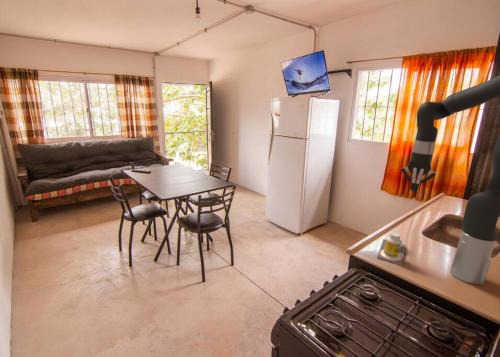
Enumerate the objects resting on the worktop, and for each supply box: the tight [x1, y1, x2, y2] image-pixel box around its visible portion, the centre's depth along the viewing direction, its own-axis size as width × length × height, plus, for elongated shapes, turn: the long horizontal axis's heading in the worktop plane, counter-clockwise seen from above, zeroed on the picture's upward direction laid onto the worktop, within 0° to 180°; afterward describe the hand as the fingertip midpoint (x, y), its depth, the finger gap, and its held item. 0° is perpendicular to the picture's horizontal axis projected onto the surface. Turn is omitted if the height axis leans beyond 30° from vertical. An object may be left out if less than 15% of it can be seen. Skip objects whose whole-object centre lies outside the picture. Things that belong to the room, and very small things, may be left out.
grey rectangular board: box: [376, 238, 406, 267], centre depth 110 cm, size 9×18×3 cm, turn 146°
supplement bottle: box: [384, 231, 402, 258], centre depth 105 cm, size 5×5×10 cm
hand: (413, 191), depth 112 cm, fingers closed
